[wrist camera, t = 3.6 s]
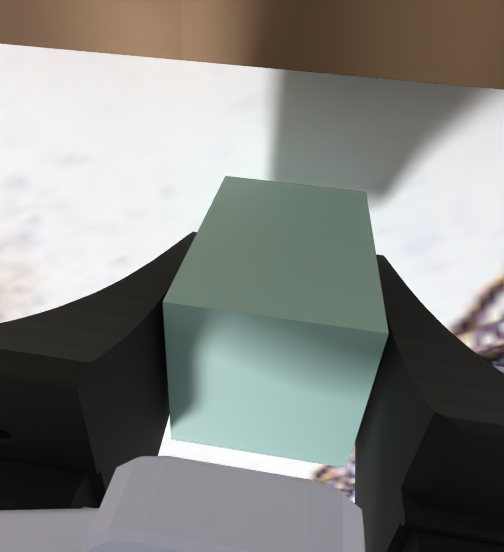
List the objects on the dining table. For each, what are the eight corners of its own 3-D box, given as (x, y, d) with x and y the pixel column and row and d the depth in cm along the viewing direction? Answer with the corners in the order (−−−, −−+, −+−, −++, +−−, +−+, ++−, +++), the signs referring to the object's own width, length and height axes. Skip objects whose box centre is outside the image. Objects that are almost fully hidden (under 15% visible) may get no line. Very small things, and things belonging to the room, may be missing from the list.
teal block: (365, 192, 13) (389, 333, 8) (341, 303, 15) (346, 468, 10) (225, 175, 13) (162, 301, 8) (222, 287, 15) (171, 439, 10)
